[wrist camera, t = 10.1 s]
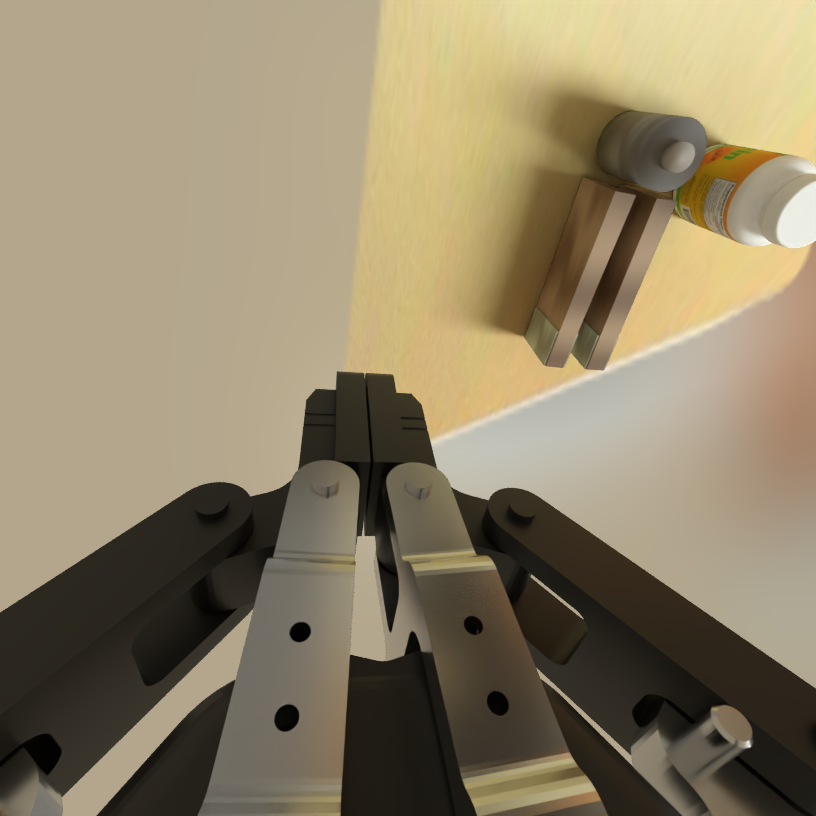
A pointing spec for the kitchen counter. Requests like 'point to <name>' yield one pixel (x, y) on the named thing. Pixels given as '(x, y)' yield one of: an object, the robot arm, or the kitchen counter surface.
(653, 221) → the tongs frame
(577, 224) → the tong arm
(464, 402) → the kitchen counter surface
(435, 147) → the kitchen counter surface
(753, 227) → the supplement bottle
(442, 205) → the kitchen counter surface
